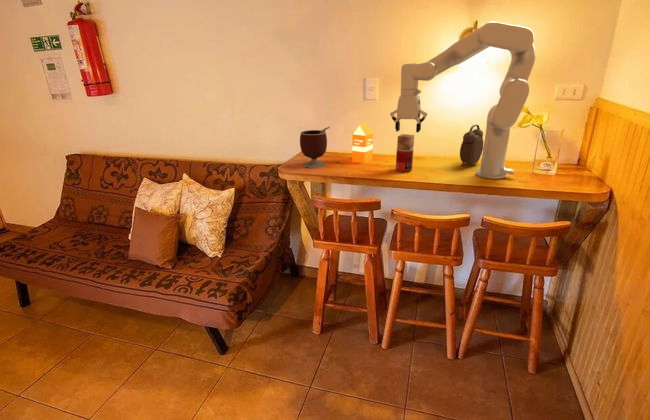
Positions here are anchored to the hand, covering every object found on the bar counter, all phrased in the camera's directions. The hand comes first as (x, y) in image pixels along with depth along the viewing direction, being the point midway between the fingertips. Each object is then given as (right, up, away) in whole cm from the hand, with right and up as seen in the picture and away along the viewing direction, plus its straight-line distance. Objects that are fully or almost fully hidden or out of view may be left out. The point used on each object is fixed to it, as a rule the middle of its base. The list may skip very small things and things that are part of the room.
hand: (407, 131), depth 165 cm
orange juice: (-18, -10, +26) cm, 34 cm away
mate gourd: (-44, -13, +20) cm, 50 cm away
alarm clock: (+34, -14, +14) cm, 40 cm away
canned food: (0, -18, +7) cm, 19 cm away
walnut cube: (0, -7, +3) cm, 8 cm away
